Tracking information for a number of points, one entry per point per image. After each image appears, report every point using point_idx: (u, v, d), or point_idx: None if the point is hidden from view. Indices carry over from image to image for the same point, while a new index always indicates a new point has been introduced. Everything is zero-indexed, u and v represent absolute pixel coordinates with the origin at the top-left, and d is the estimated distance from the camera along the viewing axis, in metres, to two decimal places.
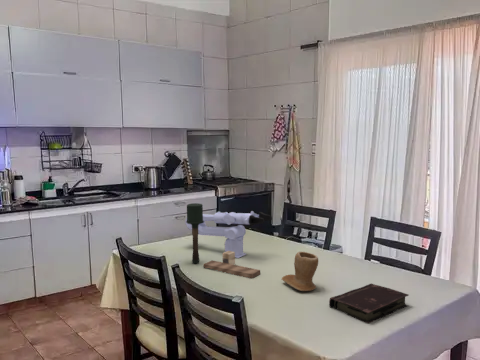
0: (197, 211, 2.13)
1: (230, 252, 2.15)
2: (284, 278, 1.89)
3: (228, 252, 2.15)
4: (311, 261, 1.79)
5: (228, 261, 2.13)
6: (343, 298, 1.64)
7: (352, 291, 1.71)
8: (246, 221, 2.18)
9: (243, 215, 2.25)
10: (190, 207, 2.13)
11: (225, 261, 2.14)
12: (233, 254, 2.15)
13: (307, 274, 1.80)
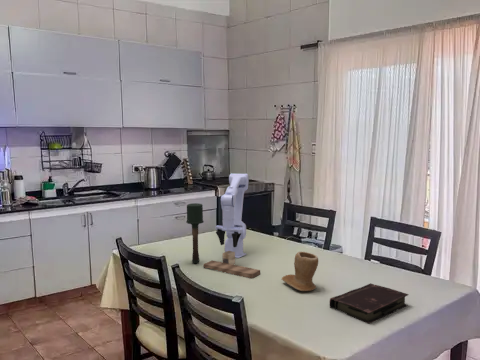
0: (197, 211, 2.13)
1: (230, 252, 2.15)
2: (284, 278, 1.89)
3: (228, 252, 2.15)
4: (311, 261, 1.79)
5: (228, 261, 2.13)
6: (343, 298, 1.63)
7: (352, 291, 1.70)
8: None
9: None
10: (190, 207, 2.13)
11: (225, 261, 2.14)
12: (233, 254, 2.15)
13: (307, 274, 1.80)
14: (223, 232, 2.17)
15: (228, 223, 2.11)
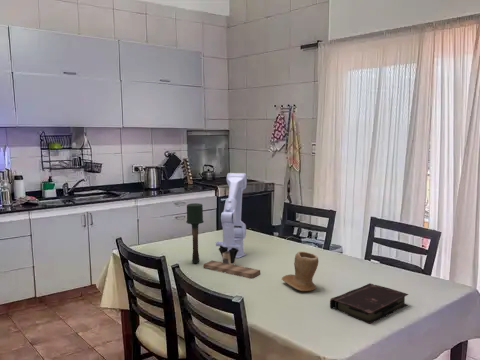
0: (197, 211, 2.13)
1: None
2: (284, 278, 1.89)
3: (228, 252, 2.15)
4: (311, 261, 1.79)
5: (228, 261, 2.13)
6: (344, 299, 1.63)
7: (352, 291, 1.70)
8: None
9: (223, 236, 2.14)
10: (190, 207, 2.13)
11: (225, 261, 2.14)
12: None
13: (307, 274, 1.80)
14: (226, 249, 2.17)
15: (228, 240, 2.12)
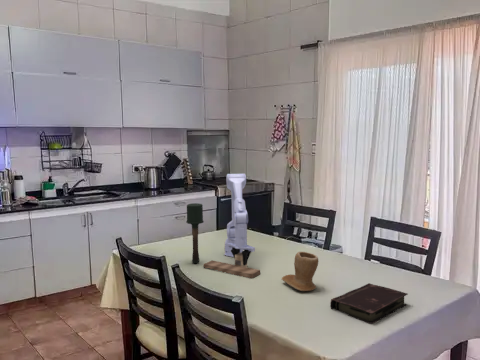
0: (197, 211, 2.13)
1: None
2: (284, 278, 1.89)
3: (240, 254, 2.11)
4: (311, 261, 1.79)
5: (241, 263, 2.09)
6: (344, 299, 1.63)
7: (352, 292, 1.70)
8: None
9: (235, 238, 2.10)
10: (190, 207, 2.13)
11: (237, 263, 2.09)
12: None
13: (307, 274, 1.80)
14: (238, 250, 2.13)
15: (241, 241, 2.08)
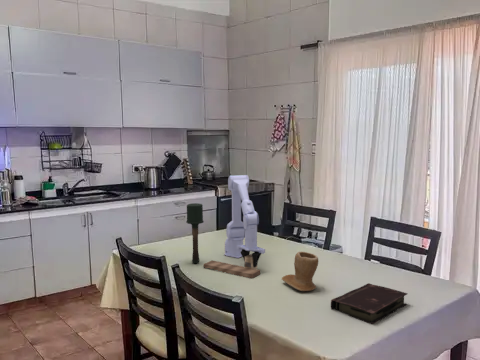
0: (197, 211, 2.13)
1: None
2: (284, 278, 1.89)
3: (250, 255, 2.08)
4: (311, 261, 1.79)
5: (251, 265, 2.06)
6: (344, 299, 1.62)
7: (352, 292, 1.70)
8: None
9: (245, 239, 2.06)
10: (190, 207, 2.13)
11: (247, 265, 2.06)
12: None
13: (307, 274, 1.80)
14: (248, 252, 2.10)
15: (251, 243, 2.04)
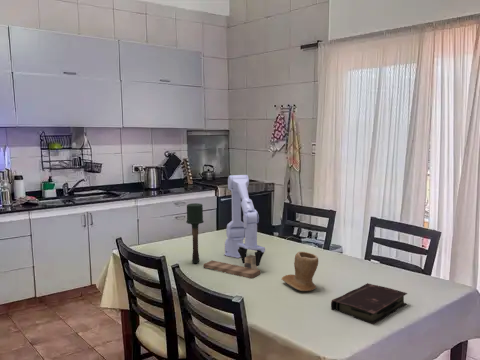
0: (197, 211, 2.13)
1: (252, 256, 2.08)
2: (284, 278, 1.89)
3: (250, 256, 2.08)
4: (311, 261, 1.79)
5: (251, 266, 2.06)
6: (345, 300, 1.62)
7: (351, 292, 1.70)
8: None
9: (245, 238, 2.06)
10: (190, 207, 2.13)
11: (247, 266, 2.06)
12: (255, 258, 2.08)
13: (307, 274, 1.80)
14: (245, 250, 2.11)
15: (251, 241, 2.04)
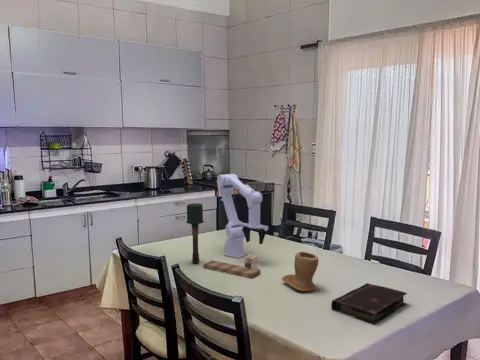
0: (197, 211, 2.13)
1: (252, 256, 2.08)
2: (284, 278, 1.89)
3: (250, 256, 2.08)
4: (311, 261, 1.79)
5: (251, 266, 2.06)
6: (345, 300, 1.62)
7: (351, 292, 1.70)
8: None
9: (249, 217, 2.16)
10: (190, 207, 2.13)
11: (247, 266, 2.06)
12: (255, 258, 2.08)
13: (307, 274, 1.80)
14: (249, 229, 2.20)
15: (254, 220, 2.14)
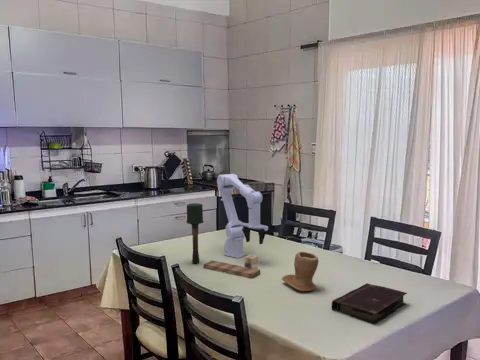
0: (197, 211, 2.13)
1: (252, 256, 2.08)
2: (284, 278, 1.89)
3: (250, 256, 2.08)
4: (311, 261, 1.79)
5: (251, 266, 2.06)
6: (345, 300, 1.62)
7: (351, 292, 1.69)
8: None
9: (249, 217, 2.16)
10: (190, 207, 2.13)
11: (247, 266, 2.06)
12: (255, 258, 2.08)
13: (307, 274, 1.80)
14: (249, 229, 2.20)
15: (254, 220, 2.14)
